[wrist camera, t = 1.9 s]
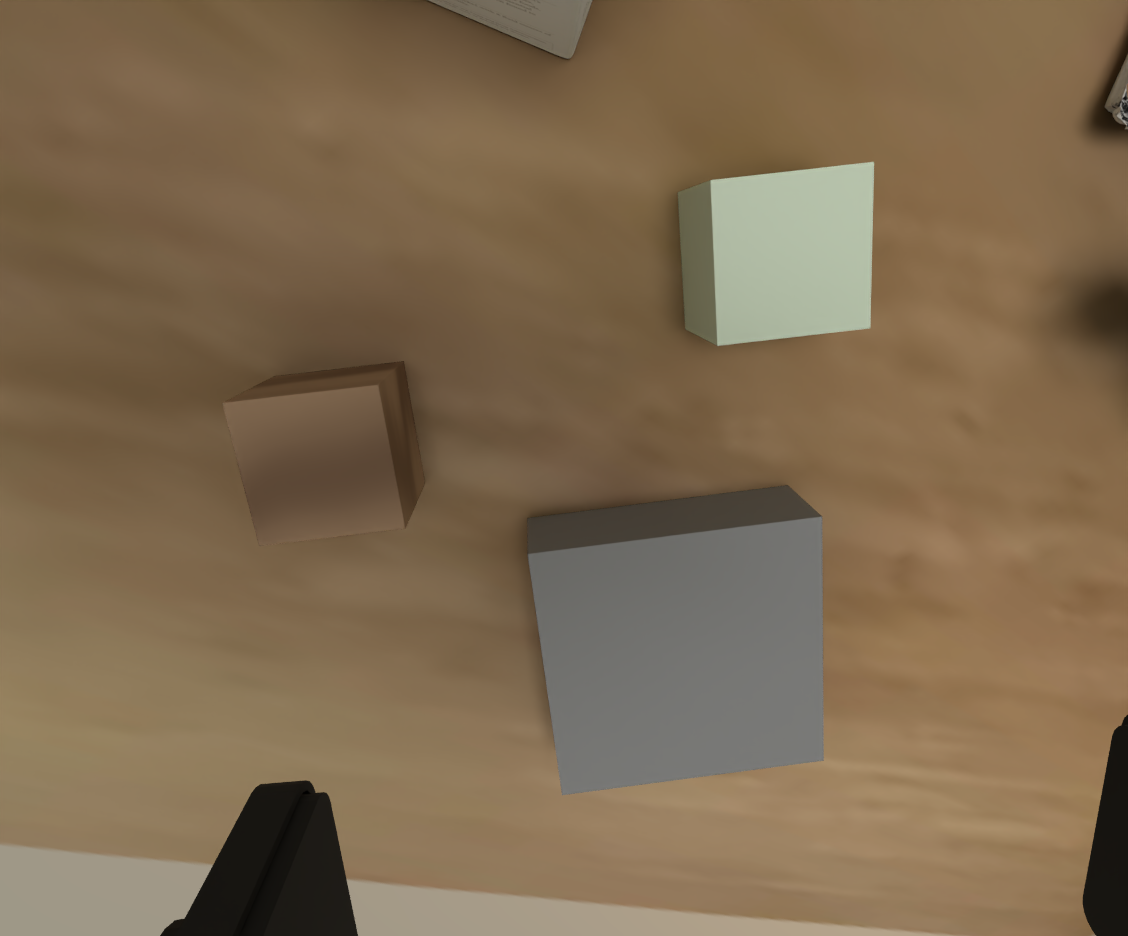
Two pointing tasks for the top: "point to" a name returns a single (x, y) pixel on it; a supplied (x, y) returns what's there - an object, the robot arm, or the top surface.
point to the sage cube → (778, 254)
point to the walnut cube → (327, 453)
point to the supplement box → (530, 20)
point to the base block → (681, 636)
